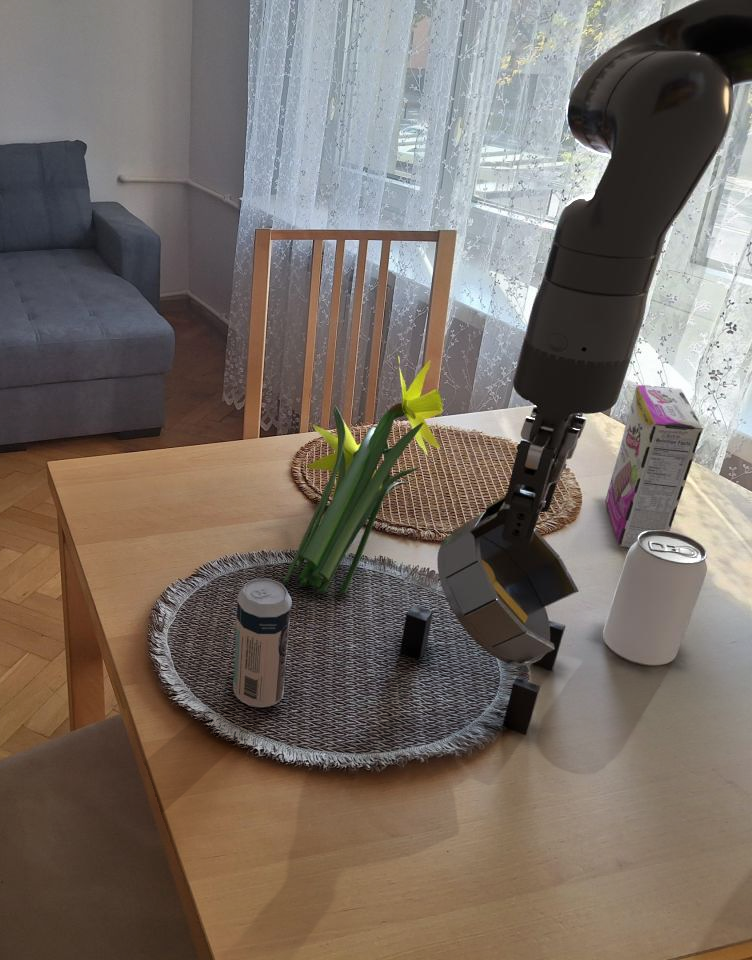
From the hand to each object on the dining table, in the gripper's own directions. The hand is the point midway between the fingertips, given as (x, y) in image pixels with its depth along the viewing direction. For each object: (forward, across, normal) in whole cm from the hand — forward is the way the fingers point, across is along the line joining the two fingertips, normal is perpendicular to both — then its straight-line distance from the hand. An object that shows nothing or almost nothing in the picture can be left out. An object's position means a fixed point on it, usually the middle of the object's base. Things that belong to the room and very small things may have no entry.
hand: (525, 523), depth 74 cm
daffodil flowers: (+18, +18, +20) cm, 32 cm away
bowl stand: (+18, 0, +1) cm, 18 cm away
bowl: (+8, 0, +1) cm, 8 cm away
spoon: (+8, 0, +1) cm, 8 cm away
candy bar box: (+17, +37, -7) cm, 42 cm away
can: (+17, +13, -11) cm, 25 cm away
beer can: (+18, -14, +17) cm, 29 cm away
